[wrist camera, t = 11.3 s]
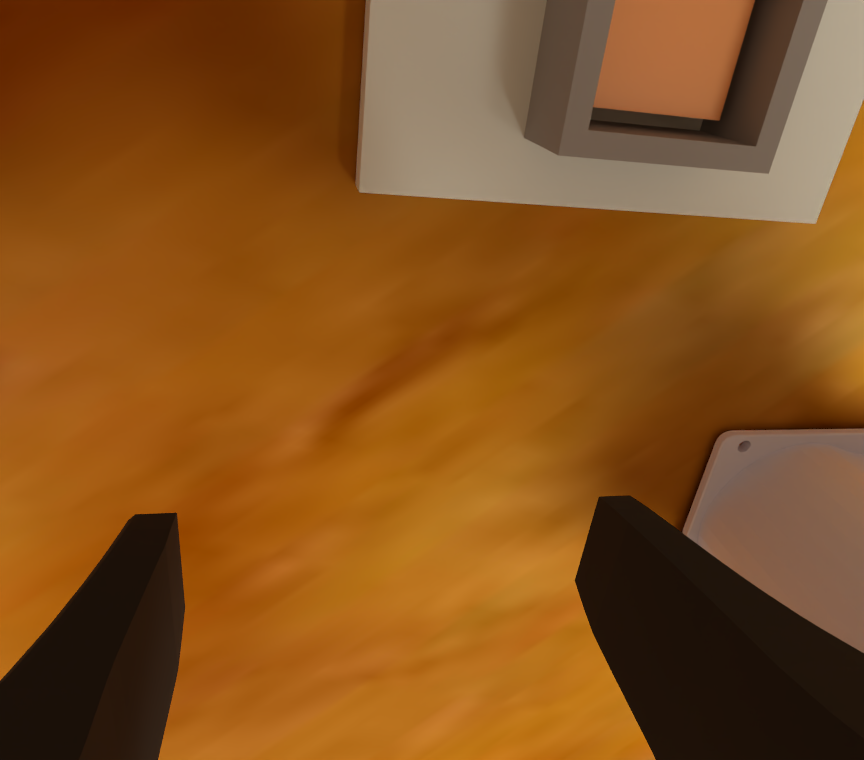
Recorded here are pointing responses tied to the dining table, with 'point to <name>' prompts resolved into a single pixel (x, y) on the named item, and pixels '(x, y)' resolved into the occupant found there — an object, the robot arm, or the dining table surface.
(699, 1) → the button
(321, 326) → the dining table surface
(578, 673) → the dining table surface
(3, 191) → the dining table surface
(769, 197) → the panel
